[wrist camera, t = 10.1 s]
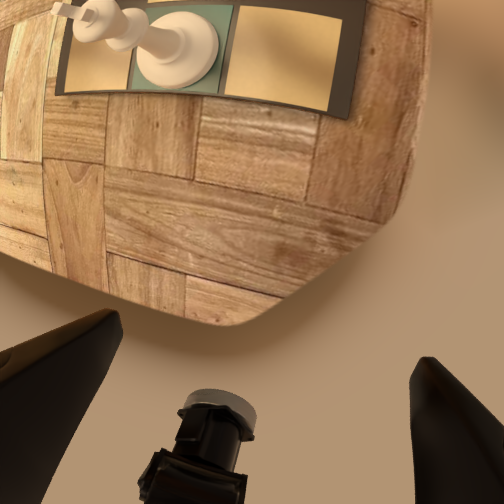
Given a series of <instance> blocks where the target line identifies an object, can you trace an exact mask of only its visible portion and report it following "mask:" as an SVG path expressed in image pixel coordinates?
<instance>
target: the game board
mask: <svg viewBox="0 0 504 504" xmlns="http://www.w3.org/2000/svg"><path fill="white" fill-rule="evenodd" d="M87 1H88V0H72V2H71V5H73V6H77V7H82V5H83V4H84V3H86V2H87ZM115 1H116V3H117V4H118V6H119V8H120V9H121V11H122V10H124V9H127V8H138V9H141V10H143V11H144V12H145V13H146V14H147V16H148V20H149V26H150V25H151V24H152V23H153V22H154V21H156V20H157V19H159V18H160V17H162V16H164V15H167V14H169V13H173V12H191V13H194V14H197V15H199V16H202V17H203V18H205V19H206V20H208V21H209V22H210V23H211V24H212V25H213V27H214V28H215V30H216V33H217V36H218V42H219V46H218V53H217V56H216V59H215V61H214V63H213V65H212V67H211V68H210V70H209V71H208V72H207V73H206V74H205V75H204V76H203V77H202V78H201V79H199V80H198V81H196V82H195V83H193V84H191V85H189V86H186V87H183V88H177V89H168V88H163V87H160V86H157V85H156V84H153V83H152V82H150V81H149V80H147V79H146V78H145V77H144V76H143V74H142V73H141V71H140V69H139V67H138V63H137V47H138V46H136V47H134V48H133V49H131V50H128V51H125V52H118V51H115V50H113V49H111V48H110V47H109V46H108V44H107V43H106V40H105V39H103V40H100V41H97V42H92V43H83V42H80V41H78V40H77V39H76V38H75V36H74V33H73V22H74V19H72V18H67V22H66V27H65V32H64V36H63V41H62V47H61V52H60V58H59V65H58V72H57V79H56V88H55V96H66V95H80V94H100V93H158V94H179V95H193V96H205V97H216V98H225V99H234V100H241V101H249V102H256V103H262V104H269V105H275V106H280V107H286V108H291V109H297V110H302V111H307V112H311V113H316V114H321V115H325V116H329V117H334V118H338V119H342V120H347V119H348V116H349V110H350V105H351V100H352V94H353V89H354V83H355V77H356V72H357V66H358V59H359V53H360V46H361V40H362V33H363V26H364V18H365V10H366V2H367V0H115Z"/></svg>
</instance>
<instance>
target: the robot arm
mask: <svg viewBox="0 0 504 504" xmlns="http://www.w3.org/2000/svg"><path fill="white" fill-rule="evenodd" d="M122 337H123V329H122V324H121V320H120V315H119V313H118V311H116V310H114V309H110V308H104V309H102V310H99V311H97V312H95V313H92V314H90V315H88V316H85V317H83V318H80V319H78V320H75V321H73V322H71V323H68V324H66V325H64V326H61V327H59V328H56V329H54V330H51V331H49V332H47V333H44V334H42V335H40V336H37V337H35V338H33V339H30V340H28V341H25V342H23V343H21V344H18V345H16V346H14V347H11V348H9V349H6V350H4V351H1V352H0V504H41V502H42V500H43V497H44V495H45V493H46V491H47V488H48V486H49V484H50V482H51V480H52V477H53V475H54V473H55V471H56V469H57V467H58V465H59V463H60V461H61V459H62V457H63V455H64V453H65V451H66V449H67V447H68V445H69V443H70V441H71V439H72V437H73V435H74V433H75V431H76V430H77V428H78V426H79V424H80V422H81V420H82V418H83V416H84V414H85V412H86V411H87V409H88V407H89V405H90V403H91V402H92V400H93V398H94V396H95V394H96V392H97V391H98V389H99V387H100V385H101V384H102V381H103V380H104V378H105V376H106V374H107V372H108V370H109V367H110V365H111V363H112V360H113V358H114V356H115V353H116V351H117V349H118V347H119V345H120V342H121V340H122ZM409 389H410V429H411V440H412V450H413V463H414V480H415V504H504V426H503V425H502V424H501V423H500V422H499V421H498V420H497V419H496V417H495V416H494V415H493V414H492V413H491V412H490V411H489V410H488V409H487V408H486V407H485V406H484V405H483V404H482V403H481V402H480V401H479V400H478V399H477V398H476V397H475V396H474V395H473V394H472V393H471V392H470V391H469V390H468V389H467V388H466V387H465V386H464V385H463V384H462V383H461V382H460V381H459V380H457V378H456V377H454V376H453V375H452V374H451V373H450V372H449V371H448V370H447V369H446V368H445V367H444V366H443V365H442V364H441V363H440V362H439V361H438V360H437V359H436V358H434V357H422V358H420V360H419V361H418V363H417V365H416V367H415V369H414V371H413V373H412V375H411V377H410V382H409ZM177 414H178V415H179V416H180V417H181V418H182V420H183V421H182V423H181V426H180V428H179V430H178V433H177V435H176V438H175V441H176V444H175V446H174V448H173V451H172V452H169V451H167V450H166V449H164V448H161V450H160V452H154V455H153V457H152V459H151V461H150V463H149V465H148V466H147V468H146V469H145V471H144V472H143V474H142V475H141V477H140V478H139V480H138V483H137V484H138V486H139V488H140V497H139V500H141V501H144V504H244V499H245V493H246V485H247V478H248V475H245V474H238V473H234V468H235V465H236V461H237V457H238V453H239V449H240V445H241V442H247V441H253V440H254V437H255V436H254V435H253V434H252V433H251V431H250V430H249V429H248V428H247V427H246V426H245V425H244V423H243V422H242V421H241V420H240V419H239V418H238V416H237V415H236V414H235V413H234V412H233V410H232V409H231V408H230V407H229V406H227V405H219V406H210V407H201V408H190V409H179V410H178V412H177Z"/></svg>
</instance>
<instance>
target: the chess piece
mask: <svg viewBox="0 0 504 504" xmlns="http://www.w3.org/2000/svg"><path fill="white" fill-rule="evenodd" d="M50 14H53V15H58V16H63V17H68V18H72V19H74V22H73V33H74V36H75V38H76V39H77V40H78V41H80V42H83V43H92V42H97V41H100V40H103V39H105V40H106V43H107V44H108V46H109V47H110V48H111V49H113V50H115V51H118V52H125V51H128V50H131V49H133V48H134V47H136V46H138V47H137V63H138V67H139V69H140V71H141V73H142V74H143V76H144V77H145V78H146V79H147V80H149V81H150V82H152V83H153V84H156V85H157V86H160V87H163V88H168V89H177V88H183V87H186V86H189V85H191V84H193V83H195V82H196V81H198V80H199V79H201V78H202V77H203V76H204V75H205V74H206V73H207V72H208V71H209V70H210V68H211V67H212V65H213V63H214V61H215V59H216V56H217V53H218V46H219V42H218V36H217V33H216V30H215V28H214V27H213V25H212V24H211V23H210V22H209V21H208V20H206V19H205V18H203V17H202V16H199V15H197V14H194V13H191V12H173V13H169V14H167V15H164V16H162V17H160V18H159V19H157V20H156V21H154V22H153V23H152V24H151V25H150V26H149V20H148V16H147V14H146V13H145V12H144V11H143V10H141V9H138V8H127V9H124V10H122V11H121V9H120V8H119V6H118V4H117V3H116V1H115V0H88V1H87V2H86V3H84V4H83V5H82V7H77V6H73V5H69V4H66V3H62V2H55V4H54V6H53V8H52V10H51V12H50Z"/></svg>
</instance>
